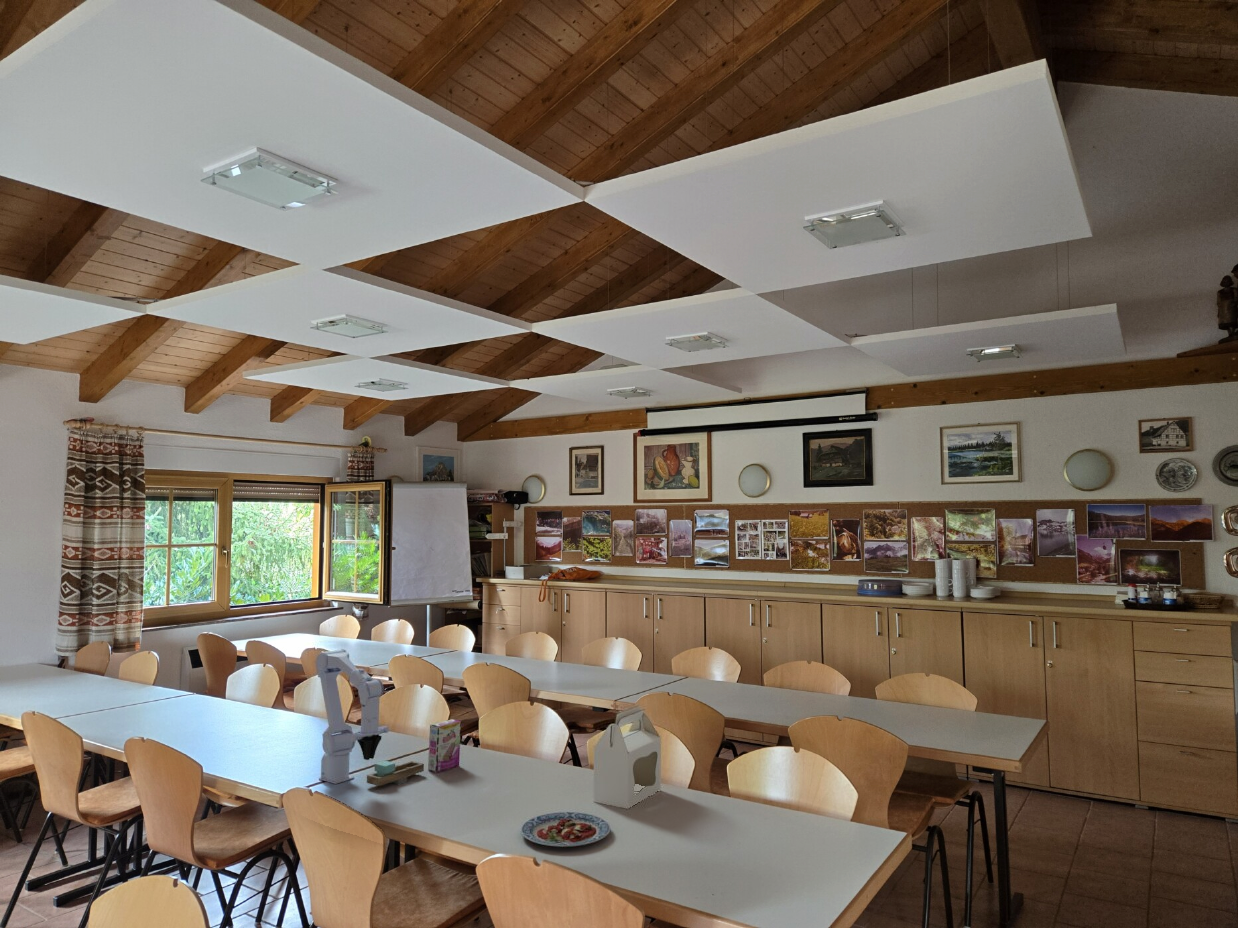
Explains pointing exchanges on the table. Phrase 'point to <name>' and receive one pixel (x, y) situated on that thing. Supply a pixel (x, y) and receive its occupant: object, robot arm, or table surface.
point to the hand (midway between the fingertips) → (368, 758)
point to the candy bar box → (444, 745)
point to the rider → (384, 768)
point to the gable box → (627, 761)
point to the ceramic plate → (565, 829)
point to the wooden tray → (397, 774)
